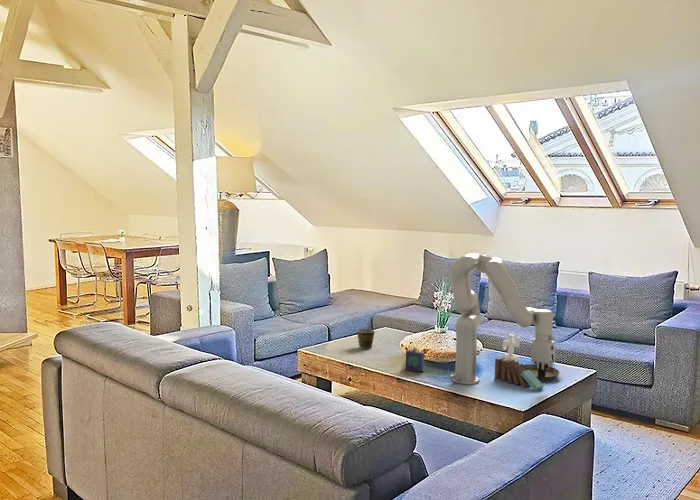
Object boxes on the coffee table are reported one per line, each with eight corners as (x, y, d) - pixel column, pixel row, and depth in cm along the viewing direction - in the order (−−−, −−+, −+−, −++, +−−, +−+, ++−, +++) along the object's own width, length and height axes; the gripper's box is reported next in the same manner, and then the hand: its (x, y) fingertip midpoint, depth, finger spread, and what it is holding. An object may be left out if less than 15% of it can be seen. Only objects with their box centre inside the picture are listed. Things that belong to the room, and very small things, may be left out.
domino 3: (518, 380, 298) (514, 359, 299) (511, 382, 294) (508, 361, 295) (514, 380, 299) (511, 359, 300) (508, 382, 296) (504, 361, 297)
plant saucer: (548, 385, 293) (548, 378, 293) (507, 376, 307) (507, 370, 306) (566, 376, 309) (566, 369, 308) (526, 368, 322) (526, 361, 322)
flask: (424, 371, 314) (425, 348, 313) (422, 372, 311) (422, 349, 310) (406, 368, 319) (407, 345, 318) (404, 369, 316) (404, 347, 315)
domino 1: (504, 378, 304) (505, 357, 303) (498, 379, 301) (498, 359, 300) (501, 377, 305) (501, 356, 304) (494, 378, 302) (495, 358, 301)
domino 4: (525, 382, 295) (518, 361, 297) (518, 384, 291) (511, 362, 294) (521, 383, 296) (515, 362, 298) (515, 384, 293) (508, 363, 295)
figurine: (506, 359, 338) (507, 331, 336) (522, 363, 331) (523, 334, 329) (498, 361, 333) (499, 333, 331) (514, 365, 326) (515, 337, 324)
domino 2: (511, 379, 301) (511, 358, 300) (504, 381, 297) (504, 360, 297) (507, 379, 302) (507, 358, 302) (501, 380, 299) (501, 360, 299)
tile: (535, 390, 284) (520, 374, 290) (541, 388, 288) (526, 372, 294) (537, 387, 283) (522, 371, 289) (544, 385, 287) (529, 369, 293)
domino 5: (532, 383, 292) (522, 363, 295) (525, 385, 289) (516, 365, 292) (528, 385, 293) (519, 364, 297) (522, 387, 290) (512, 366, 293)
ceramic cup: (361, 345, 365) (361, 328, 364) (377, 347, 361) (377, 330, 360) (351, 350, 354) (351, 332, 353) (367, 352, 349) (367, 334, 348)
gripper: (562, 339, 279) (560, 379, 281) (533, 333, 291) (532, 372, 293) (553, 341, 275) (551, 382, 276) (524, 335, 286) (522, 375, 288)
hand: (541, 377), depth 285 cm, fingers closed
